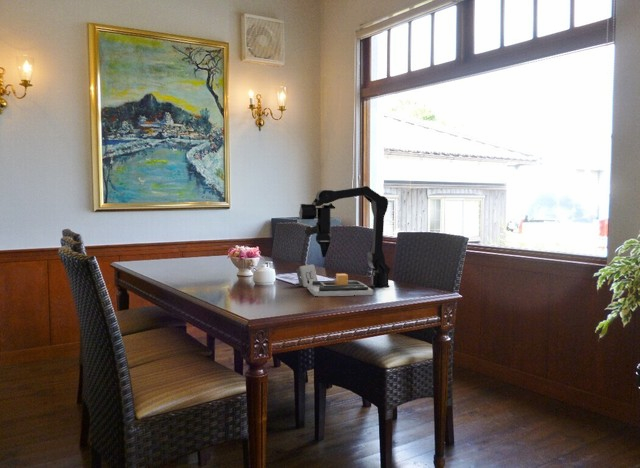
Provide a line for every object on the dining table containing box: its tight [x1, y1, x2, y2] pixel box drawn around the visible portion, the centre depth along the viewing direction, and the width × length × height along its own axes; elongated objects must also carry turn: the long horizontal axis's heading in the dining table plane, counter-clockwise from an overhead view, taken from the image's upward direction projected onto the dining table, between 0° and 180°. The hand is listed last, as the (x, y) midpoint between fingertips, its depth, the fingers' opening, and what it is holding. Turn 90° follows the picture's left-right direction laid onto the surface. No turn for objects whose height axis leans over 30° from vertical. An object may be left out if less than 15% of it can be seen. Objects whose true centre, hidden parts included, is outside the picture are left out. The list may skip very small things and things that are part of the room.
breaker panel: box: [307, 279, 374, 297], centre depth 234 cm, size 24×18×4 cm
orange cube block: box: [335, 273, 349, 285], centre depth 234 cm, size 4×5×5 cm
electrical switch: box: [295, 264, 319, 288], centre depth 249 cm, size 9×5×9 cm, turn 141°
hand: (324, 255), depth 241 cm, fingers open, 9 cm apart
